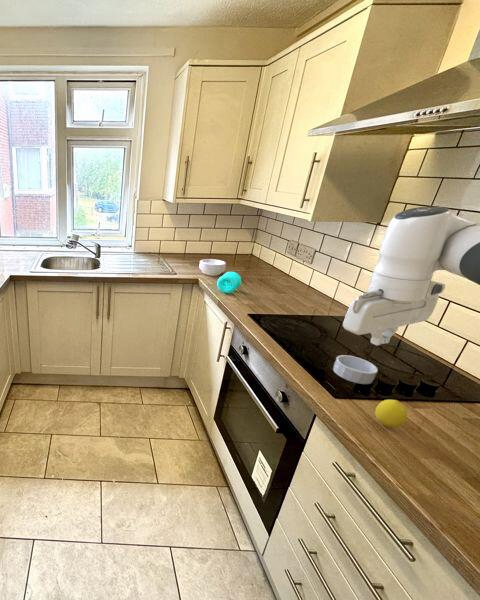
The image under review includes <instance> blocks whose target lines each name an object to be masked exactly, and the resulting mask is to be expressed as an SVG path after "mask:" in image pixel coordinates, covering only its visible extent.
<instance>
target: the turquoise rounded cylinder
mask: <svg viewBox="0 0 480 600" xmlns="http://www.w3.org/2000/svg"><path fill="white" fill-rule="evenodd" d="M216 285H217V288H218V290H219V291H220V292H222V293H223V294H232V293H234V292H235V291H236V290H237V289H239V288H240V287H241V285H242V277H241V275H240V274H239V273H237V272H235V271H227V272H226V273H224V274H223V275H221V276H220V277H219V278H218V279H217V282H216Z"/></svg>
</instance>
